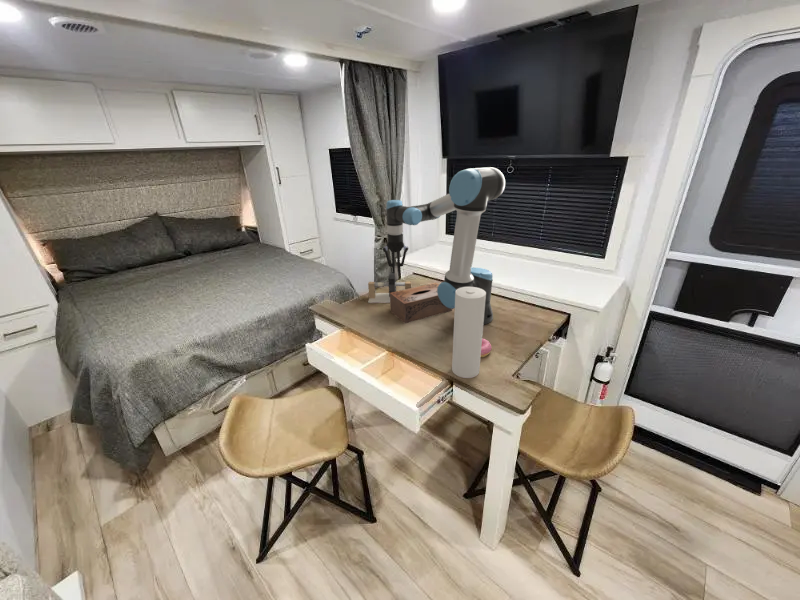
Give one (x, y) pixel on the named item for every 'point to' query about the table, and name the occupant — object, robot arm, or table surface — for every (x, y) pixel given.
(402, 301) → the tissue box cover
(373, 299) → the rail stand
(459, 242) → the robot arm
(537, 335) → the table surface
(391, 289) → the collar
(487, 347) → the doughnut
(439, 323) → the table surface
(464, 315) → the cylinder container
